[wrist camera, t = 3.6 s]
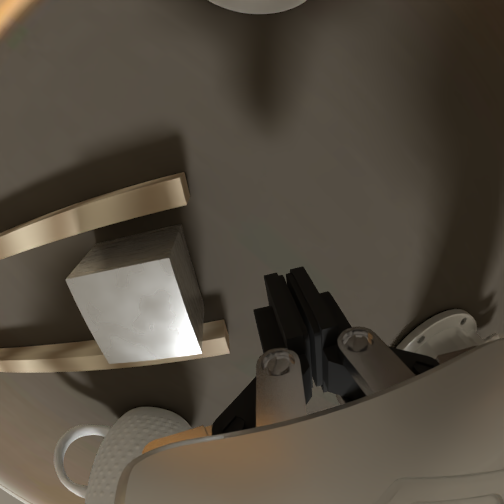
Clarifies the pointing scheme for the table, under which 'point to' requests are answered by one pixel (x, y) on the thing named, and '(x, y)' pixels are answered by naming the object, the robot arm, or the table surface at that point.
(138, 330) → the block
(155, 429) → the mug
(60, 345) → the u-shaped frame
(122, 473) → the robot arm
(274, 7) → the cup
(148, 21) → the table surface
